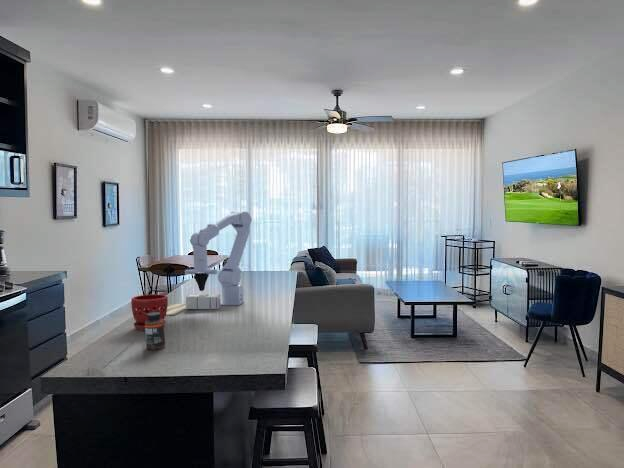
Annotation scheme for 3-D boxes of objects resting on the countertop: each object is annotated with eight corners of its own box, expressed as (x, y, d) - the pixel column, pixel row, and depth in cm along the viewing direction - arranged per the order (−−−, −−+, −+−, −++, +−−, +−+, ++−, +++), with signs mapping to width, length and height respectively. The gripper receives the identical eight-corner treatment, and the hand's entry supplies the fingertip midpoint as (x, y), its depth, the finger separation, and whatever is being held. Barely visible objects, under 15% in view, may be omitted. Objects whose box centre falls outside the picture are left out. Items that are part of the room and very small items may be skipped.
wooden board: (195, 305, 213) (194, 304, 213) (174, 315, 193) (173, 314, 193) (171, 305, 215) (171, 303, 215) (148, 315, 196) (148, 313, 196)
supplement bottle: (159, 343, 153) (157, 310, 153) (169, 346, 149) (167, 312, 149) (142, 348, 149) (140, 314, 148) (152, 351, 145) (150, 316, 144)
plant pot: (157, 332, 168) (155, 300, 167) (125, 331, 171) (123, 299, 170) (175, 323, 181) (173, 293, 180) (145, 322, 183) (143, 293, 183)
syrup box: (185, 309, 202) (218, 309, 203) (185, 296, 202) (218, 296, 203) (188, 306, 208) (220, 306, 209) (188, 293, 207) (220, 294, 208)
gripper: (180, 261, 197) (182, 292, 198) (212, 260, 195) (213, 292, 196) (188, 259, 204) (189, 289, 205) (218, 258, 202) (220, 289, 202)
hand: (201, 290), depth 201 cm, fingers closed
